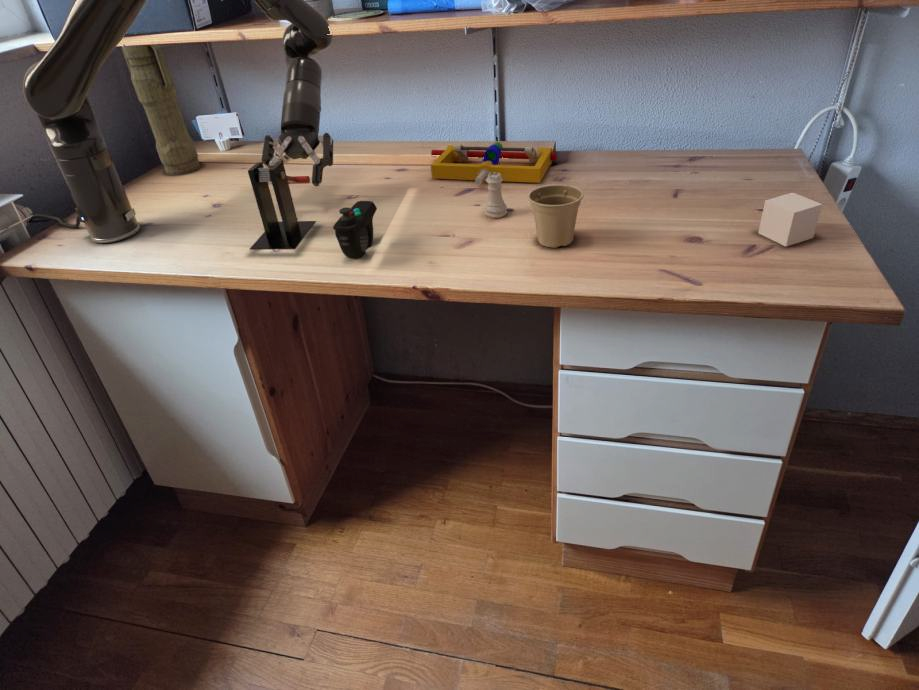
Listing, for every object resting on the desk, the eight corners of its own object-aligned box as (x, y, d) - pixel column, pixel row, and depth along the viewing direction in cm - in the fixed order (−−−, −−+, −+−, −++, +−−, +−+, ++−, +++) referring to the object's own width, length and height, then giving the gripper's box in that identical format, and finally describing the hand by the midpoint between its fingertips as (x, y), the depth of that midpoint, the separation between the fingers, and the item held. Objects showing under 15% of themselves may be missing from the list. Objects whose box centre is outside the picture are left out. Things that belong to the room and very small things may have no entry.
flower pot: (530, 228, 116) (529, 184, 111) (582, 228, 114) (583, 183, 109) (526, 252, 109) (525, 205, 104) (581, 252, 107) (583, 205, 102)
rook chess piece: (488, 208, 125) (485, 170, 121) (509, 210, 124) (508, 170, 119) (482, 218, 122) (479, 178, 117) (504, 219, 121) (502, 179, 116)
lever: (284, 186, 126) (283, 174, 126) (310, 186, 126) (309, 173, 125) (250, 182, 113) (249, 168, 112) (279, 181, 112) (278, 167, 111)
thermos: (190, 176, 157) (137, 21, 136) (153, 174, 160) (96, 23, 140) (212, 163, 163) (165, 14, 143) (176, 162, 167) (125, 16, 147)
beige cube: (784, 225, 109) (792, 192, 106) (813, 238, 105) (822, 204, 101) (758, 233, 108) (765, 200, 104) (785, 246, 103) (794, 212, 99)
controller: (338, 269, 109) (326, 216, 104) (363, 237, 119) (353, 187, 113) (361, 270, 108) (351, 216, 103) (384, 238, 118) (376, 187, 112)
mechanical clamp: (433, 132, 149) (558, 134, 140) (435, 158, 153) (557, 161, 144) (404, 158, 135) (540, 163, 126) (407, 186, 139) (540, 192, 130)
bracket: (275, 227, 127) (255, 155, 118) (317, 226, 125) (300, 153, 116) (251, 255, 117) (227, 178, 108) (296, 254, 115) (276, 177, 107)
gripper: (260, 102, 125) (252, 178, 123) (328, 98, 123) (322, 176, 120) (276, 121, 132) (270, 193, 130) (341, 118, 130) (335, 192, 128)
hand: (295, 185), depth 125 cm, fingers open, 8 cm apart
